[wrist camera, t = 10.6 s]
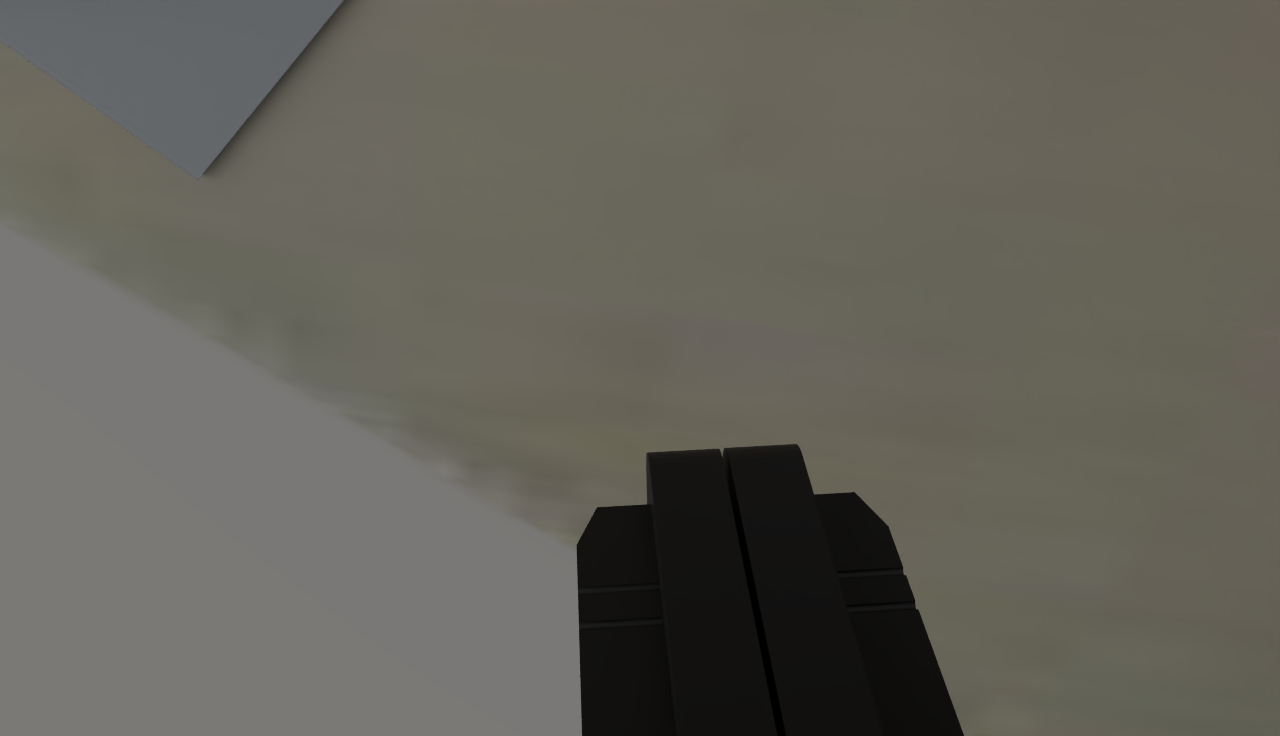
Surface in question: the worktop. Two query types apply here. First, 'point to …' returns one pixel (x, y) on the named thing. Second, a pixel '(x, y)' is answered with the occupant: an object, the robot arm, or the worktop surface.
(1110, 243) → the worktop surface
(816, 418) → the worktop surface
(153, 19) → the rubber mat
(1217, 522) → the worktop surface
